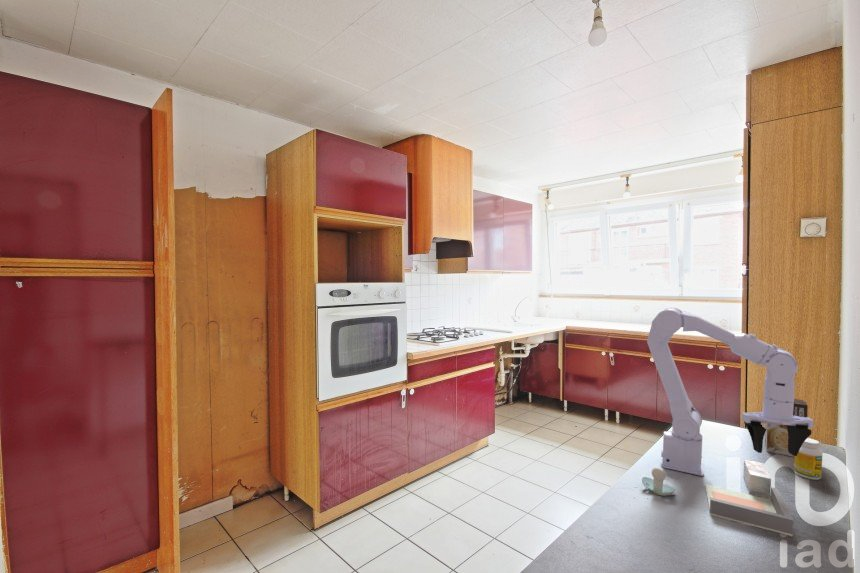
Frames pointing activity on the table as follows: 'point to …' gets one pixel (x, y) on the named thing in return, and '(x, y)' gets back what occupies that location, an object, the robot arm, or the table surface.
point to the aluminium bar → (757, 478)
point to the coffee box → (782, 431)
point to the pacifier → (658, 483)
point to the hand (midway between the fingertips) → (774, 452)
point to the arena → (751, 509)
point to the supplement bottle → (809, 460)
